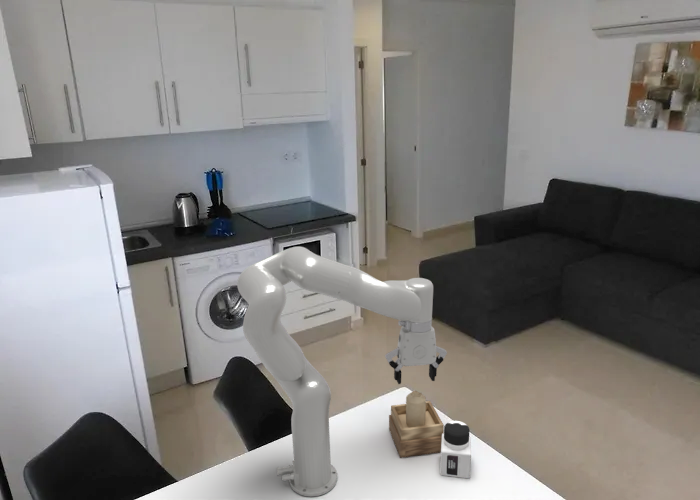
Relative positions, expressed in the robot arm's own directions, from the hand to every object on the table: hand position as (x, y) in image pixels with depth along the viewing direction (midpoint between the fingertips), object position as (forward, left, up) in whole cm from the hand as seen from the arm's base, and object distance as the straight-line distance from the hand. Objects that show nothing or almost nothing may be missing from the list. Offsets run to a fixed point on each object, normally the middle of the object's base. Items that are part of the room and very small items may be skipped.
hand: (415, 380), depth 146 cm
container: (+8, -13, -20) cm, 25 cm away
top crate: (+1, 0, -15) cm, 15 cm away
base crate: (+1, 0, -20) cm, 20 cm away
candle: (0, 0, -15) cm, 15 cm away
